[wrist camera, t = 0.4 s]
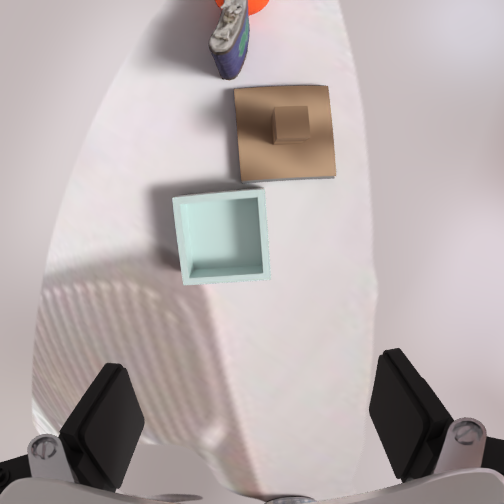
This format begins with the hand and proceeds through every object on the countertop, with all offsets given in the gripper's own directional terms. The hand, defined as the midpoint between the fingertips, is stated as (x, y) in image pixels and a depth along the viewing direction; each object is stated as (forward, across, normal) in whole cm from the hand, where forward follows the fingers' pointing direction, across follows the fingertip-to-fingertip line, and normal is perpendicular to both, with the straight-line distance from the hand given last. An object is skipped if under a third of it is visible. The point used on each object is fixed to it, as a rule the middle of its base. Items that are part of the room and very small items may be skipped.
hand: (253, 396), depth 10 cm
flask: (+28, +1, -24) cm, 37 cm away
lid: (+27, -4, -12) cm, 30 cm away
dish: (+28, +3, -1) cm, 28 cm away
